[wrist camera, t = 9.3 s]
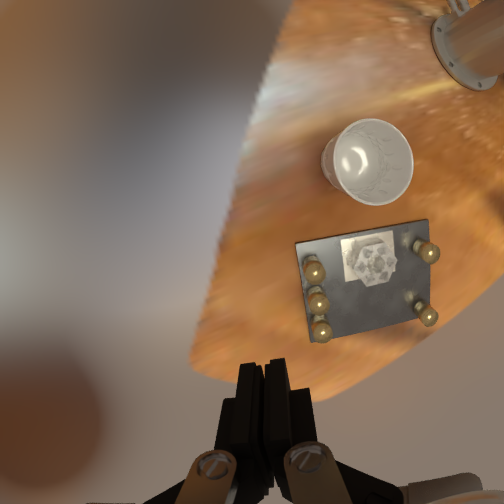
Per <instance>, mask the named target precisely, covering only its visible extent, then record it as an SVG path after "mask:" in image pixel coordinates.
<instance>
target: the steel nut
mask: <svg viewBox="0 0 504 504" xmlns="http://www.w3.org/2000/svg"><path fill="white" fill-rule="evenodd" d="M373 256H379V257H378V260H377V262H376V265H375V266H373V267H368V268H366V266H367V264H368V261H369V259H370V257H373ZM396 262H397V258H396V257H395V256H394V254H393V253H392V251H391V250H390V248H389V247H388V246H387V244H386V243H385V242H384V241H383V240H381V239H380V238H373V239H368V240H364V241H359V242H356V245H355V247H354V250H353V252H352V255H351V258H350V260H349V263H348V264H349V265H350V267H351V268H352V269H353V270H354V271H355V273H356V274H357V275H358V276H359V278H360V279H361V280H362V282H363V283H364V284H365V285H366V287H368V286H372V285H376V284H380V283H385V282H388V281H389V279H390V277H391V274H392V272H393V270H394V267H395V265H396Z"/></svg>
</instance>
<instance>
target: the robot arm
mask: <svg viewBox="0 0 504 504" xmlns="http://www.w3.org/2000/svg"><path fill="white" fill-rule="evenodd" d="M446 1H447V3H448V5H449V7H450V8H451V14H445V15H442V16H440V17H439V18H438V19H437V20H435V22H434V24H433V26H432V30H431V37H432V43H433V46H434V49H435V52H436V54H437V56H438V58H439V60H440V61H441V63H442V65H443V66H444V68H445V69H446V70H447V71H448V73H449V74H450V75H451V76H452V77H453V78H454V79H455V80H456V81H458V82H459V83H460V84H461V85H463V86H465V87H467V88H469V89H471V90H475V91H484V90H487V89H490V88H491V87H493V86H494V84H495V83H496V81H497V78H498V75H500V74H503V73H504V0H484V1H482V2H481V3H479V4H478V5H476V6H475V7H473V8H471V9H470V7H469V3H468V1H467V0H456V2H457V4H458V6H459V7H460V9H461V11H460V10H459V9H458V7H457V4H456V2H455V0H446ZM274 476H275V479H276V482H277V485H278V487H280V490H281V493H282V496H283V497H284V498H285V499H287V500H288V501H290V502H292V503H293V504H504V491H501V490H483V488H482V483H481V480H480V478H479V477H478V476H477V475H475V474H472V473H460V474H456V475H452V476H447V477H442V478H437V479H432V480H426V481H421V482H413V483H409V484H408V486H400V487H396V486H395V485H393V484H390V483H387V482H385V481H383V480H380V479H377V478H375V477H373V476H370V475H368V474H365V473H363V472H361V471H358V470H356V469H354V468H351V467H349V466H347V465H345V464H343V463H340V462H338V461H336V460H335V459H334V457H333V454H332V452H331V450H330V449H329V447H328V446H326V445H325V444H323V443H320V442H318V441H317V434H316V427H315V421H314V415H313V408H312V402H311V395H310V389H309V388H304V389H298V390H291V389H290V383H289V378H288V373H287V368H286V362H285V358H280V359H273V360H270V364H265V379H264V374H263V370H262V367H261V365H258V366H256V363H255V362H252V363H244V364H240V369H239V376H238V383H237V390H236V397H235V398H225V399H224V400H223V404H222V410H221V415H220V420H219V425H218V430H217V436H216V441H215V446H214V450H211V451H207V452H205V453H203V454H201V455H199V456H198V457H197V458H196V459H195V461H194V462H193V464H192V466H191V468H190V470H189V473H188V475H187V477H186V479H184V480H183V481H181V482H179V483H178V484H176V485H174V486H173V487H171V488H169V489H168V490H166V491H164V492H163V493H161V494H159V495H157V496H155V497H153V498H152V499H150V500H148V501H146V502H144V503H143V504H257V503H259V502H260V501H261V500H262V499H264V495H268V494H269V488H273V487H274ZM86 504H135V503H86Z"/></svg>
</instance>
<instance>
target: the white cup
mask: <svg viewBox="0 0 504 504" xmlns="http://www.w3.org/2000/svg"><path fill="white" fill-rule="evenodd" d="M321 168H322V171H323V174H324V176H325V178H326V179H327V180H328V181H329V182H330V183H331V184H332V185H333V186H334V187H336V188H337V189H338V190H340V191H341V192H343V193H344V194H346V195H348V196H350V197H352V198H354V199H355V200H357V201H359V202H361V203H364V204H367V205H375V206H377V205H385V204H388V203H390V202H393V201H394V200H396V199H397V198H399V197H400V196H401V195H402V194H403V193H404V192H405V190H406V189H407V187H408V186H409V184H410V181H411V179H412V175H413V169H414V161H413V154H412V150H411V148H410V145H409V143H408V141H407V140H406V138H405V137H404V135H403V134H402V133H401V132H400V131H399V130H398V129H397V128H396V127H395V126H393V125H392V124H390V123H388V122H386V121H383V120H380V119H373V118H368V119H362V120H358V121H356V122H354V123H352V124H350V125H349V126H348V127H346V128H345V129H343V130H342V131H341V132H339V133H338V134H337V135H335V136H334V137H333V138H332V139H331V140H330V141H329V142H328V143H327V145H326V146H325V148H324V150H323V151H322V154H321Z"/></svg>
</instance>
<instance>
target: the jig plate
mask: <svg viewBox="0 0 504 504" xmlns="http://www.w3.org/2000/svg"><path fill="white" fill-rule="evenodd" d="M373 238H380V239H381V240H383V241H384V242H385V243H386V244H387V246H388V247H389V248H390V250H391V251H392V253H393V254H394V256H395V257H396V258H397V262H396V265H395V267H394V270H393V272H392V274H391V277H390V279H389V281H388V282H385V283H380V284H376V285H372V286H368V287H366V285H365V284H364V283H363V282H362V280H361V279H360V278H359V276H358V275H357V274H356V273H355V271H354V270H353V269H352V268H351V267H350V265H349V264H348V263H349V260H350V258H351V255H352V252H353V250H354V247H355V245H356V242H359V241H364V240H368V239H373ZM295 245H296V251H297V257H298V263H299V269H300V275H301V281H302V288H303V294H304V300H305V307H306V314H307V321H308V328H309V335H310V341H311V343H313V342H318V343H326V342H328V341H330V340H331V339H333V338H338V337H343V336H347V335H352V334H356V333H361V332H365V331H369V330H374V329H378V328H382V327H386V326H390V325H394V324H398V323H401V322H405V321H409V320H412V319H416V318H419V319H420V320H421V321H422V323H423V324H424V325H425V326H427V327H430V326H433V325H434V324H435V323H436V322H437V320H438V313H437V312H436V311H435V310H434V309H433V308H432V307H431V306H430V264H434V263H436V262H437V261H438V259H439V257H440V249H439V247H438V246H436V245H434V244H432V243H430V239H429V221H428V219H423V220H418V221H412V222H407V223H401V224H396V225H390V226H385V227H380V228H374V229H369V230H363V231H358V232H352V233H347V234H342V235H336V236H331V237H325V238H320V239H314V240H309V241H304V242H298V243H295ZM378 257H379V256H373V257H370V259H369V261H368V264H367V266H366V268H368V267H373V266H375V265H376V262H377V260H378Z"/></svg>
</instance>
